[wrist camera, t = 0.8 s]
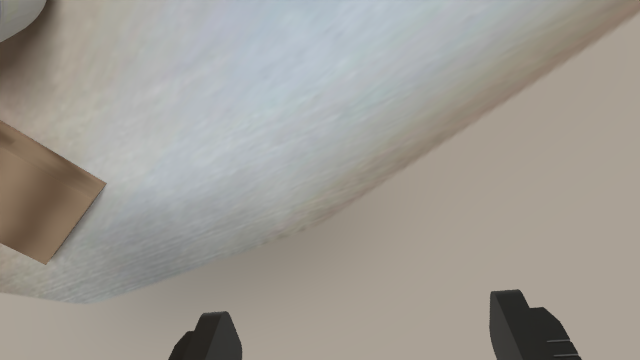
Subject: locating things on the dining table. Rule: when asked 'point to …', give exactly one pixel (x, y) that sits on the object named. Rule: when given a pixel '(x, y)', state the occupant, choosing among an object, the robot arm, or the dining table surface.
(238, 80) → the dining table surface
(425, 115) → the dining table surface
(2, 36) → the teacup
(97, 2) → the dining table surface
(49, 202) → the rectangular block with slots
